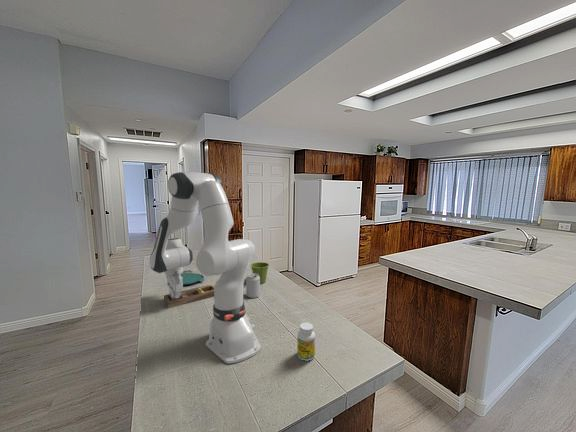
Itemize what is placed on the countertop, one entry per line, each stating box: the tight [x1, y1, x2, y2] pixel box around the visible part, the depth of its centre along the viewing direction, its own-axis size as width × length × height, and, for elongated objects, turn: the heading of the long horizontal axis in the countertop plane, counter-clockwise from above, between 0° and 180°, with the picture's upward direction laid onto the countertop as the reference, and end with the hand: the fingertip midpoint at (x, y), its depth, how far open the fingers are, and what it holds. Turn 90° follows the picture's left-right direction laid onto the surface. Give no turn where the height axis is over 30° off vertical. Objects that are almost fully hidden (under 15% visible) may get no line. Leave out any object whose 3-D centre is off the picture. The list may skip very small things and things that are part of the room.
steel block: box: [168, 285, 181, 301], centre depth 127 cm, size 5×5×8 cm
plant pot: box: [249, 261, 270, 284], centre depth 155 cm, size 12×12×11 cm
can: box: [245, 272, 261, 299], centre depth 135 cm, size 8×8×12 cm
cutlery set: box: [180, 269, 205, 286], centre depth 160 cm, size 20×30×2 cm, turn 34°
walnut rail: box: [163, 283, 215, 309], centre depth 133 cm, size 11×26×3 cm, turn 127°
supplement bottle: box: [296, 322, 316, 362], centre depth 87 cm, size 6×6×11 cm
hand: (175, 294), depth 127 cm, fingers open, 6 cm apart
